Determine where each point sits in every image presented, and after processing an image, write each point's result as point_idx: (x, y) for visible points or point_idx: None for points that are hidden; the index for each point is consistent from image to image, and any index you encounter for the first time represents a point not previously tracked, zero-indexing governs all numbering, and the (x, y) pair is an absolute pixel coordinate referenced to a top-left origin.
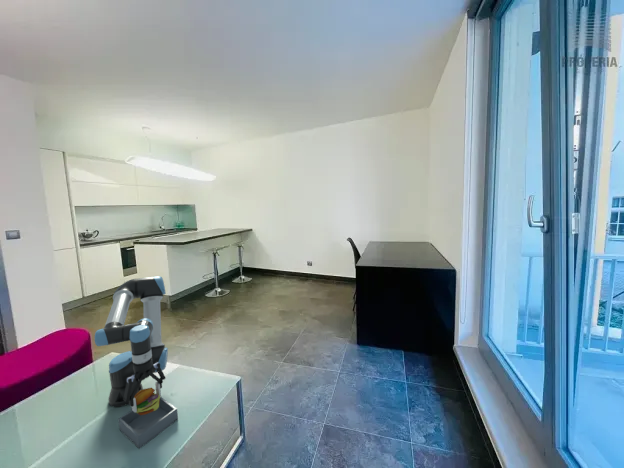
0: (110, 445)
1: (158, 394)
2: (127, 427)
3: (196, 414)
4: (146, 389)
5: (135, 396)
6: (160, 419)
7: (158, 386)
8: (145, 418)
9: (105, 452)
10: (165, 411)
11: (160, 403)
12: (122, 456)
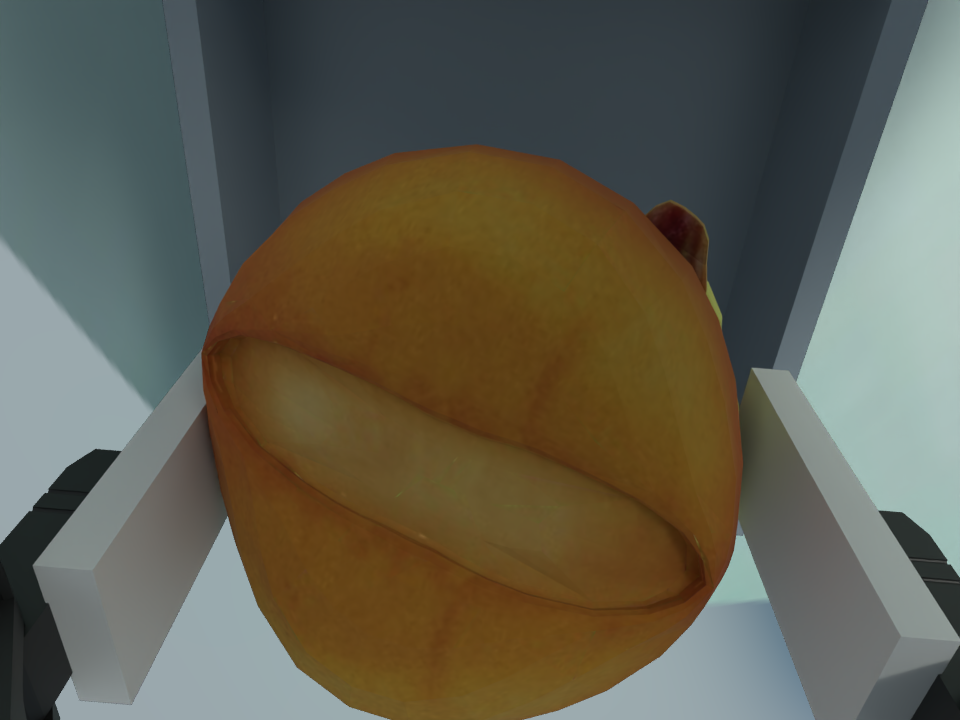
0: (84, 65)
1: (742, 472)
2: (199, 247)
3: None
4: (602, 479)
5: (291, 345)
6: None
7: (811, 705)
8: (532, 98)
9: (22, 116)
10: (734, 243)
11: (807, 112)
12: (147, 330)
